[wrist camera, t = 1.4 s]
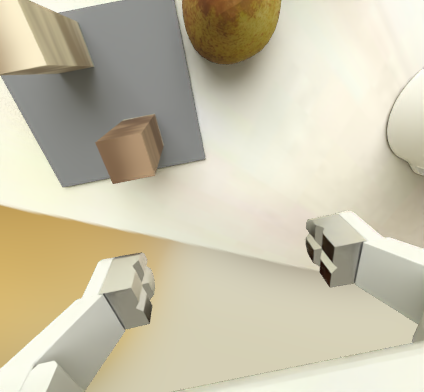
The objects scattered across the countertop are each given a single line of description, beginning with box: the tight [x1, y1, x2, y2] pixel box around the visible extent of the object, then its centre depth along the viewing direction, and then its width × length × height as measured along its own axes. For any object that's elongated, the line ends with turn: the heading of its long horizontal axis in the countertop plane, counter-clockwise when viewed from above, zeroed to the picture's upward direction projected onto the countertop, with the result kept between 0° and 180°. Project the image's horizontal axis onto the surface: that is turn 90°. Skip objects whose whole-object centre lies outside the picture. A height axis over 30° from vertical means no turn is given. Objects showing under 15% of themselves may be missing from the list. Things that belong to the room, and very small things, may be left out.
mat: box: [1, 0, 205, 187], centre depth 28 cm, size 20×18×1 cm
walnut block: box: [95, 114, 164, 184], centre depth 25 cm, size 4×4×10 cm
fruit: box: [182, 0, 281, 64], centre depth 20 cm, size 9×9×12 cm
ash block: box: [0, 0, 95, 75], centre depth 20 cm, size 4×4×10 cm
